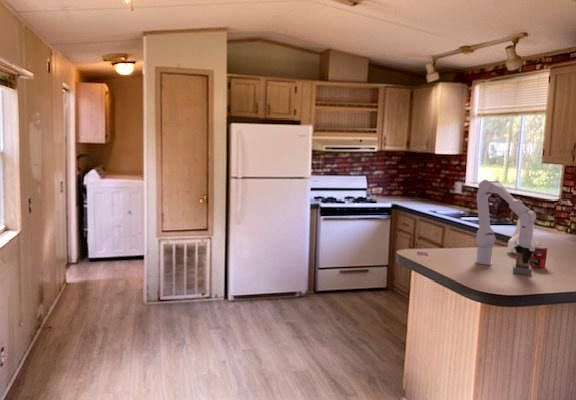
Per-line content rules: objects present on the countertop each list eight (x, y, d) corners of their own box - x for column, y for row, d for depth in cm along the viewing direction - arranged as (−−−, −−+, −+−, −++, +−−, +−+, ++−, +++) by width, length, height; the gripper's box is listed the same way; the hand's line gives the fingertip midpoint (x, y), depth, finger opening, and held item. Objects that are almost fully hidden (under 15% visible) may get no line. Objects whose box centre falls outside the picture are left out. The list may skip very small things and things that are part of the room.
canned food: (525, 265, 270) (527, 244, 269) (536, 264, 274) (538, 244, 272) (537, 269, 263) (539, 248, 262) (548, 268, 267) (550, 247, 265)
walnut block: (515, 264, 256) (517, 252, 255) (523, 264, 256) (524, 252, 256) (520, 266, 252) (521, 254, 251) (528, 266, 253) (529, 254, 252)
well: (512, 269, 260) (513, 263, 260) (529, 271, 257) (530, 265, 257) (513, 273, 253) (513, 267, 252) (530, 275, 250) (531, 269, 249)
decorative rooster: (508, 249, 308) (512, 208, 304) (537, 253, 300) (542, 211, 297) (504, 257, 286) (509, 213, 282) (535, 262, 278) (540, 216, 275)
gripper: (510, 232, 259) (507, 258, 261) (526, 238, 245) (523, 265, 246) (523, 232, 260) (520, 258, 262) (540, 238, 245) (537, 266, 247)
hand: (522, 262), depth 254 cm, fingers closed on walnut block, 4 cm apart
